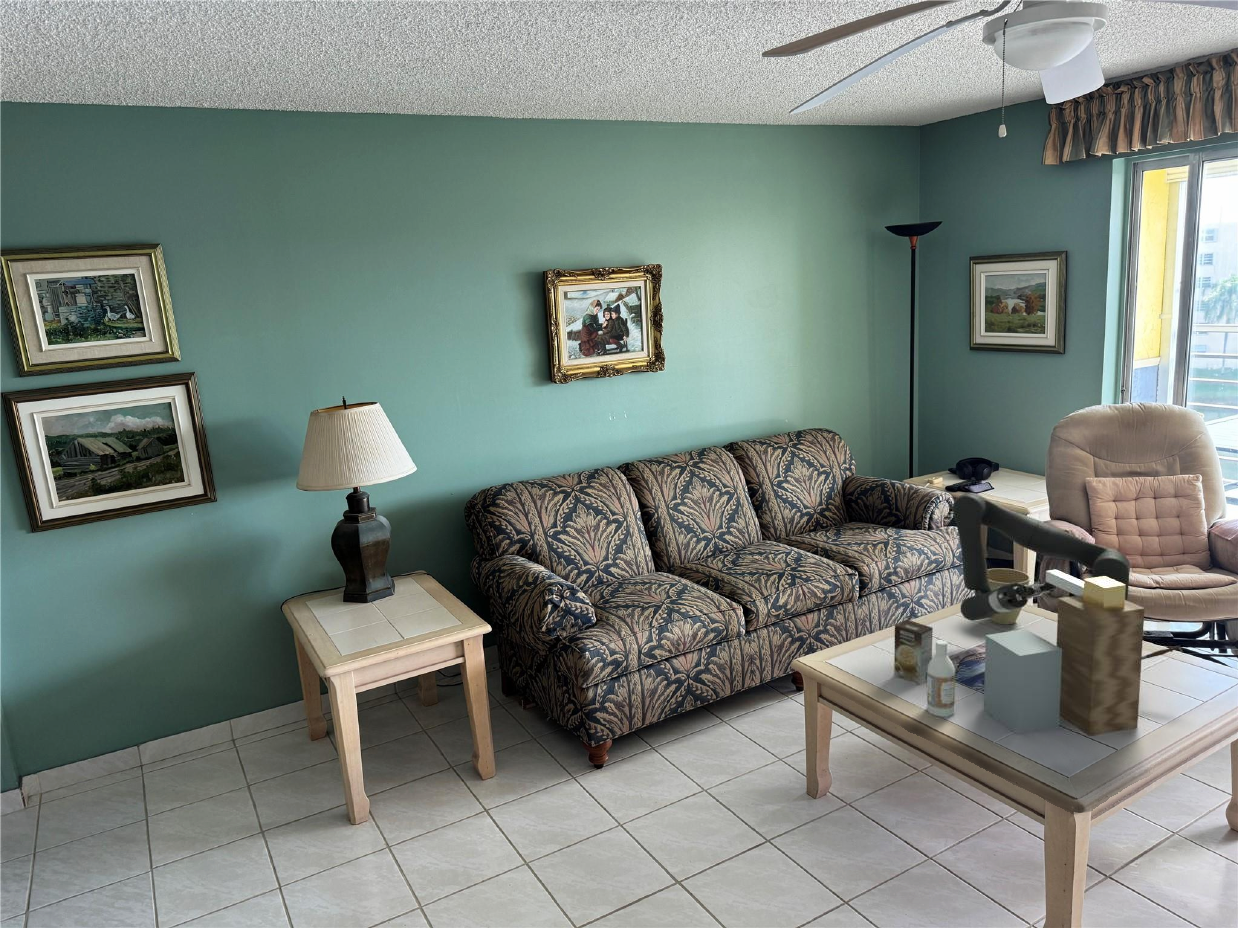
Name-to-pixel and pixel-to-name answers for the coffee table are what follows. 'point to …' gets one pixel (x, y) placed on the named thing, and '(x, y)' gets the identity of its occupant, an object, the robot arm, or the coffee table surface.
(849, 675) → the coffee table surface
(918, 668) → the coffee box
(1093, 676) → the tall stand
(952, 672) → the bath foam
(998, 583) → the plant pot
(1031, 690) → the blue gray block
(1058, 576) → the wood and metal block
